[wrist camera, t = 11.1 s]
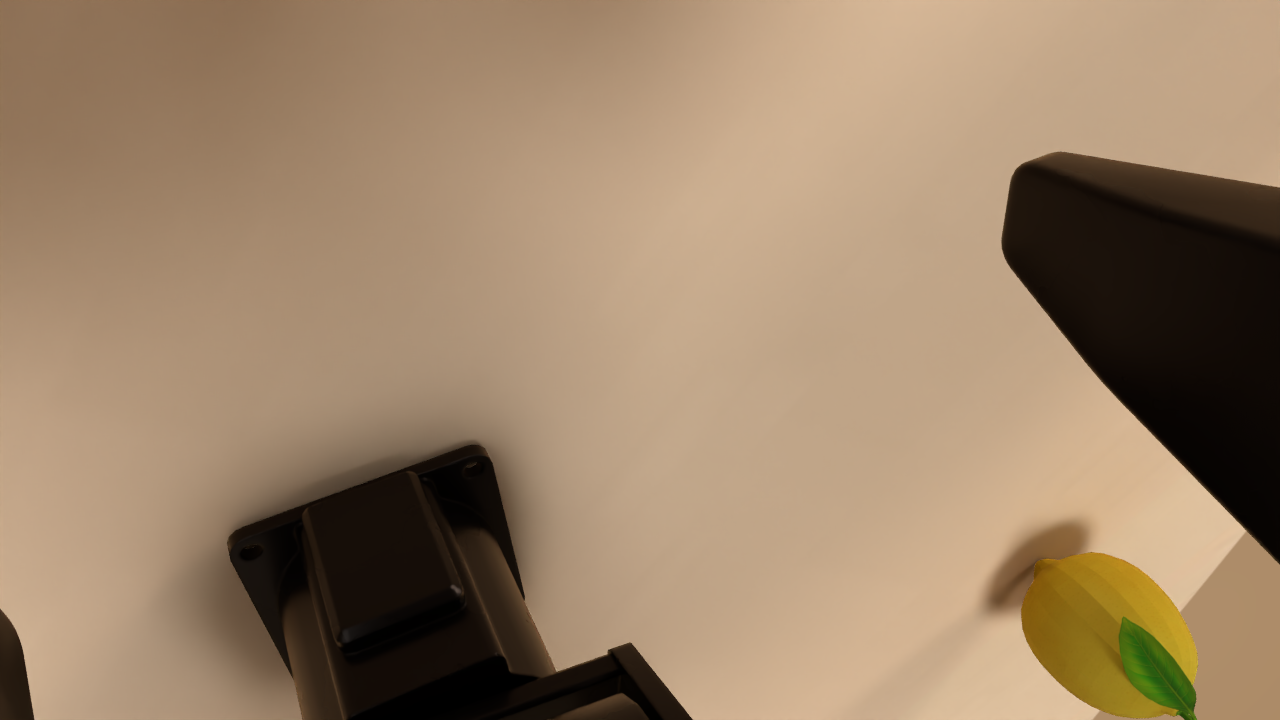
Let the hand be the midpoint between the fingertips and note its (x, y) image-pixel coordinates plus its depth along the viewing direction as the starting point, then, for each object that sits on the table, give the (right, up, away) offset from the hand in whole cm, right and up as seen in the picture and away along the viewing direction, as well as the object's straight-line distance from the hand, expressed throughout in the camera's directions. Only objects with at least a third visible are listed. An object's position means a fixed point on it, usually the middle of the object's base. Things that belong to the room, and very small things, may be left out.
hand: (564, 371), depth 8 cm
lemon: (+18, -9, +35) cm, 40 cm away
